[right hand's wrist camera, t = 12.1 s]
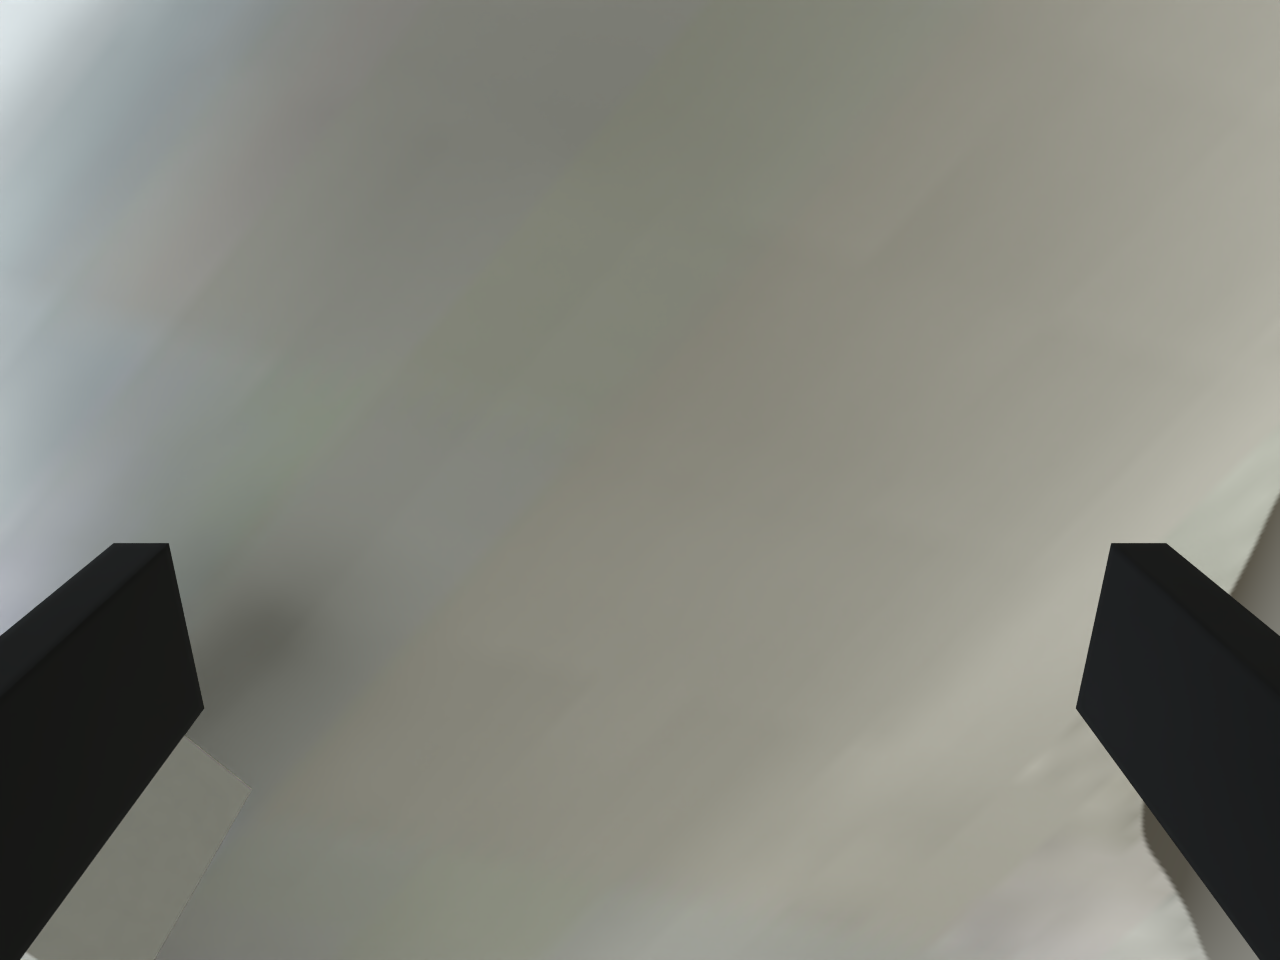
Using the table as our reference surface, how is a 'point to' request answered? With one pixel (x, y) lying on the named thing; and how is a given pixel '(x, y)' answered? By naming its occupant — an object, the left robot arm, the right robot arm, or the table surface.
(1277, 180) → the table surface
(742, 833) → the table surface
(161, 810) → the bar
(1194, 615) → the right robot arm
